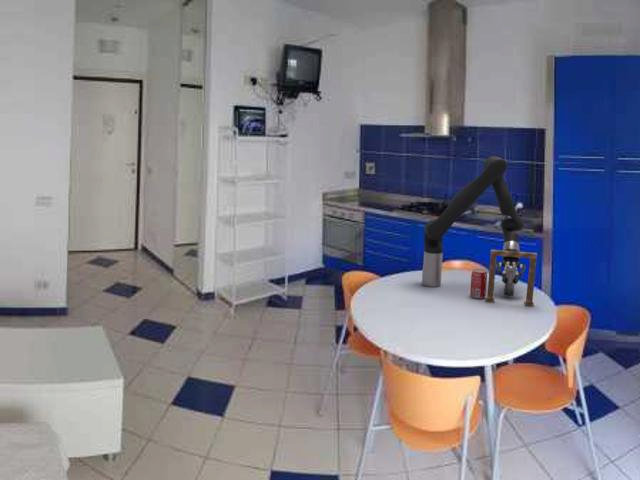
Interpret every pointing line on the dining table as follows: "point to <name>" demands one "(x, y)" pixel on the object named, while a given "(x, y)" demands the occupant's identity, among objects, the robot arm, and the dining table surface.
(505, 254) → the arch
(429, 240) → the robot arm
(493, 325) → the dining table surface
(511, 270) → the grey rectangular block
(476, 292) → the soda can
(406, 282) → the dining table surface
